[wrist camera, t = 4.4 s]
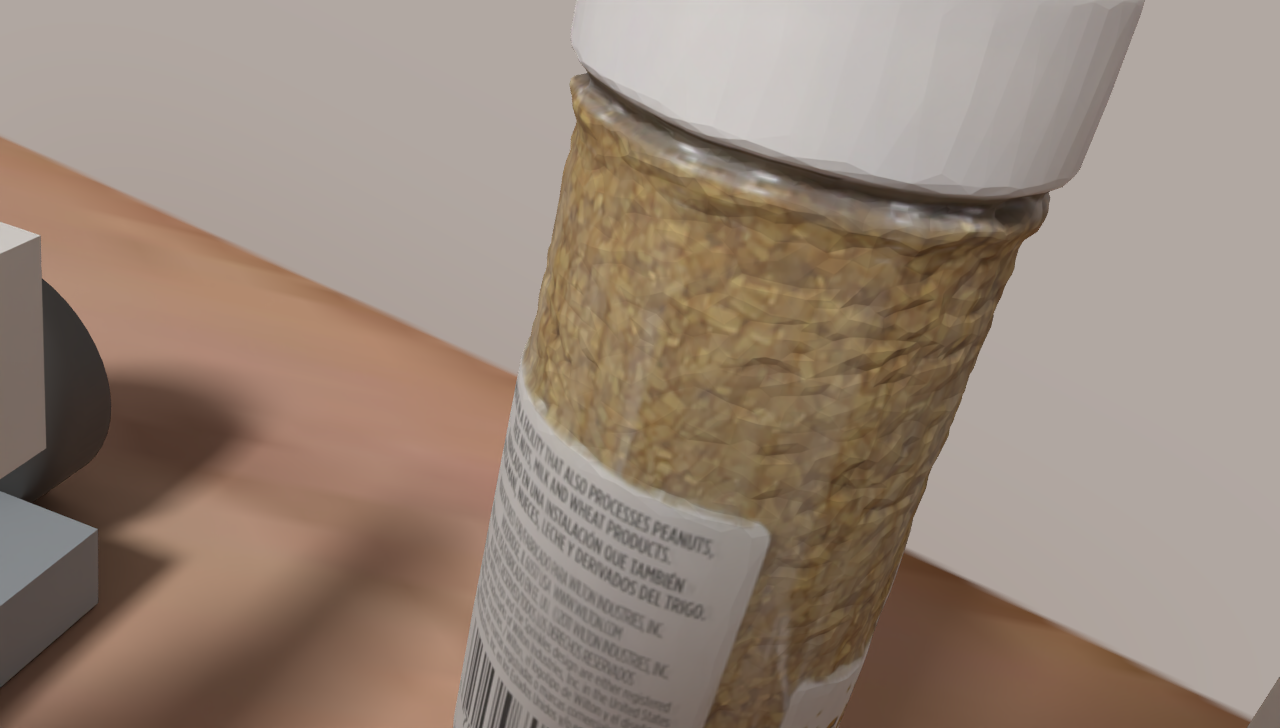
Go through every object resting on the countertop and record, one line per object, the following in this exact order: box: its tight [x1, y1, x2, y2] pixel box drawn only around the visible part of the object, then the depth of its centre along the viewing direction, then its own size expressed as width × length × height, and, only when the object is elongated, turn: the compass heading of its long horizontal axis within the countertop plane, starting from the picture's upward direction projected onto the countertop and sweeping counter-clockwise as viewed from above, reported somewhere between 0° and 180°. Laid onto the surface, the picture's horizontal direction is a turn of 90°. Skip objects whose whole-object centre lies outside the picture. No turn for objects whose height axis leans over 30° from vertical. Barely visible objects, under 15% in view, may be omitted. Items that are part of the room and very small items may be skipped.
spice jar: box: [453, 0, 1145, 728], centre depth 13 cm, size 5×5×13 cm
